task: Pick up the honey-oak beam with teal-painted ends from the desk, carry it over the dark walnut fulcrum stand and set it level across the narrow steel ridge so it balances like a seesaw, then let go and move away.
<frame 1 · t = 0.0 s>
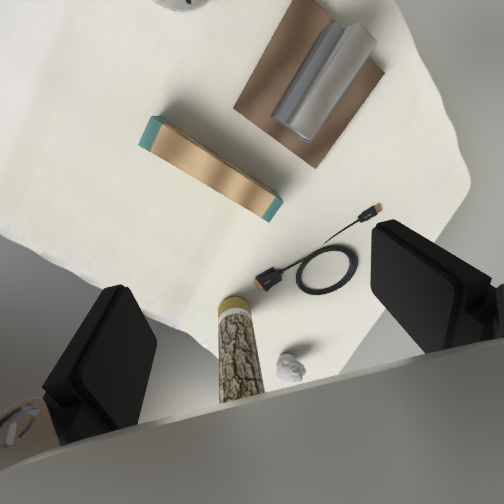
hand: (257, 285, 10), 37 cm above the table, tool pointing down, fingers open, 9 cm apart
fulcrum stand: (306, 91, 40), on the table
oak beam: (216, 169, 43), on the table
cable: (324, 264, 56), on the table
bark log: (233, 307, 57), on the table
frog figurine: (285, 355, 67), on the table
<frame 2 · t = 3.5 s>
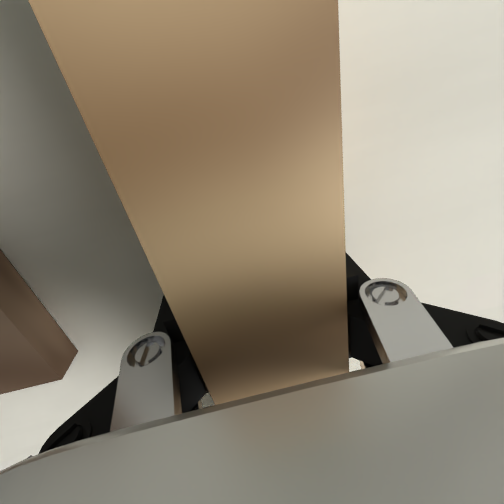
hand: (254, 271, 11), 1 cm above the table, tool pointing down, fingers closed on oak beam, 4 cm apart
oak beam: (252, 265, 11), on the table, touching gripper
when the fingers open (11 cm above the table, at t = 10.0 s): oak beam stays where it is, resting on fulcrum stand.
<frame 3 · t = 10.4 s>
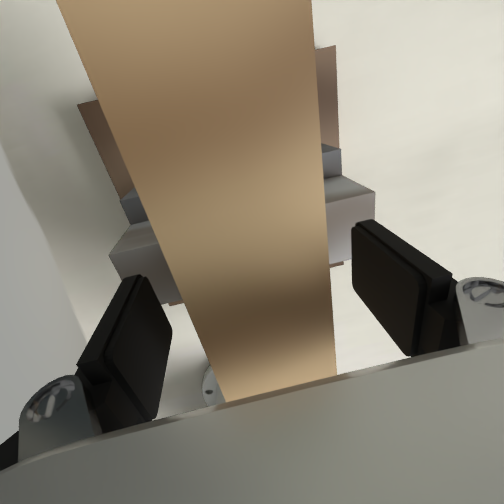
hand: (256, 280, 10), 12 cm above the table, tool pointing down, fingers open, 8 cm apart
fulcrum stand: (235, 195, 21), on the table
oak beam: (249, 254, 12), point 10 cm above the table, touching fulcrum stand
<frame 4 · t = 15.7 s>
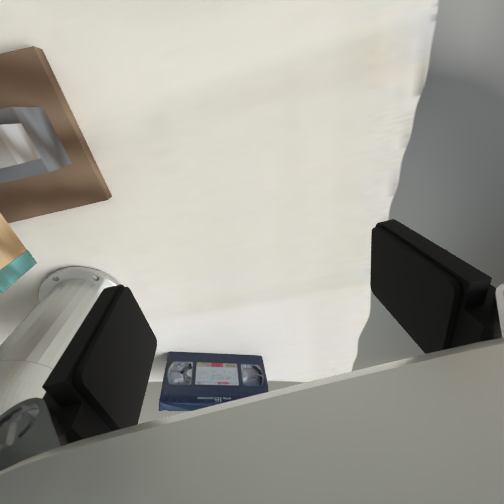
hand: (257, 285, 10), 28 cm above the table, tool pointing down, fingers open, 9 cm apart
fulcrum stand: (15, 147, 31), on the table
vhs cassette tape: (216, 356, 52), on the table
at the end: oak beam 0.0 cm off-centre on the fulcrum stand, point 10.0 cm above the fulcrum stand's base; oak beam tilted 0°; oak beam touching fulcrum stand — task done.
